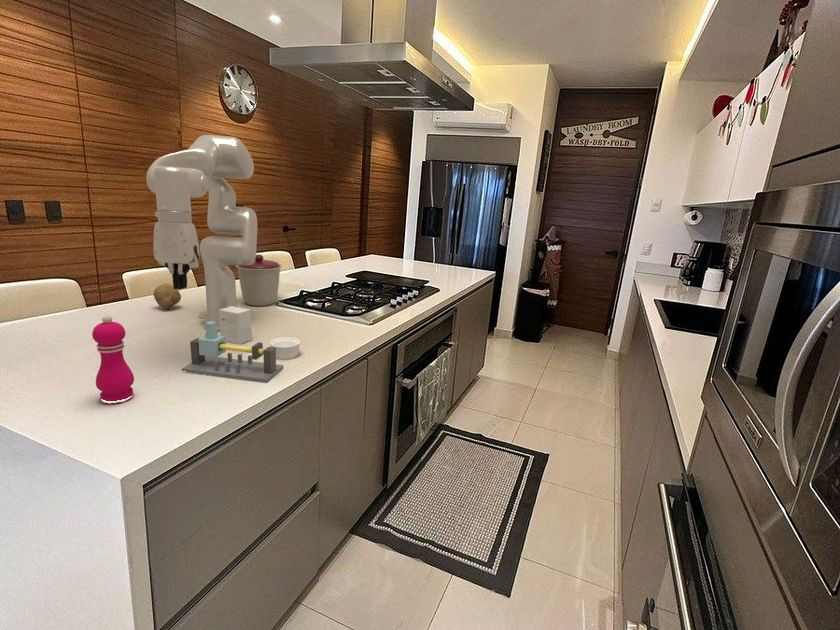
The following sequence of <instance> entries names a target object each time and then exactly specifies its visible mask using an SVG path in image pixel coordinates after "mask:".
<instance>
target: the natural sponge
mask: <svg viewBox="0 0 840 630" xmlns="http://www.w3.org/2000/svg"><path fill="white" fill-rule="evenodd" d="M153 298H154V300H155V302H156V303H157V305H158V306H159V307H160V308H162V309H164V310H169V309H171V308H172V307H173V306H175V305H177V304H179V303H180V301H181V299H182V296H181V292H180V290H179V289H174V287H173V284H170V283H163V284H159V285H158V286H157V287H156V288H155V289H154V290H153Z"/></svg>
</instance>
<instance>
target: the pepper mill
mask: <svg viewBox="0 0 840 630" xmlns="http://www.w3.org/2000/svg"><path fill="white" fill-rule="evenodd" d="M101 321H102V322H100V323H98V324H97V325H95V326H94V328H93V330H92V331H91V333H92V339H93V340H94V342H95V343H97V344H96V348H97V349H96V350H97V352H98V353H99V354H100V366H99V369H98V371H97V374H96V377H95V386H96V388H97V389H98V390H99V391H101V392H100V393H99V398H100V400H101V399H103V400H106V401H117V400H122V399H126V398H128V397H130V396H132V395H133V394H134V389H133V387H132V385H134V382H135V377H134V373H133V371H132V369H131V368H130V366H129V365H128V364H127V362H126V360H125V358H124V354H123V352H124V351H123V350H124V349H125V345H124V344H125V342H124V341H123V340H124V338H126V337H125V336H126V329H125V327H124V326H123V325H122V324H121V323H119V322H117V321H116V322H115V321H113V318H112V316H110V315H103V317H102V319H101ZM133 396H134V395H133Z"/></svg>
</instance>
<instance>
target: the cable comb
mask: <svg viewBox="0 0 840 630" xmlns="http://www.w3.org/2000/svg"><path fill="white" fill-rule="evenodd" d="M198 339H200V338H199V337H196V338H195V339H193V340H190V341H189V347H190V357H191V358H190V359H191V363H189V364H187V365H185V366H183V367H182V368H181V372H182V371H186V372H192V373H191V374H194V373H199V374H198V375H202V374H206V375H205V376H209V375H212V376H211V377H217V376H218V377H219V378H225V377H226V378H225V379H234V380H240V379H241V381H250V382H257V383H264V384H265V383H266V384H267V383H268V382H270V381H271V380H272V379H274V377H276V376H277V375H278V374H279V373H280V372H281V371H282V370H283V369H284V365H283V364H277V358H276V348H275V347H271V346H268V347H266V348H263V347H264V345H263V342H259V341H258V342H257V343H255V344H253V345H252V346H251V347H249V346H240V345H230V344H226V345H225V344H218V349H223V350H226V351H232V352H241V353H238V354H237V358H233V353H232V352H228V353H227V357H219V356H218V357H213V356H205V355H199V341H198ZM242 352H243V353H250V355H247V360H245V359H244V360H243V354H242ZM261 357H263V362H259V361H257V360H258V359H260V358H261ZM253 360H254V361H253ZM186 372H185V373H186ZM218 377H217V378H218Z"/></svg>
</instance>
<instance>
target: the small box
mask: <svg viewBox="0 0 840 630" xmlns="http://www.w3.org/2000/svg"><path fill="white" fill-rule="evenodd" d="M251 317H252V315H251V309H249V308H244V307H233V306H230V307H227V308H223V309H220V310H219V321H220V332H219V334H220V336H225V343H226V342H227V343H232V344H237V345H242V344H244V343H247V342H249V341H251V340H252V339H253V333H252V332H253V330H252V318H251Z"/></svg>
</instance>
